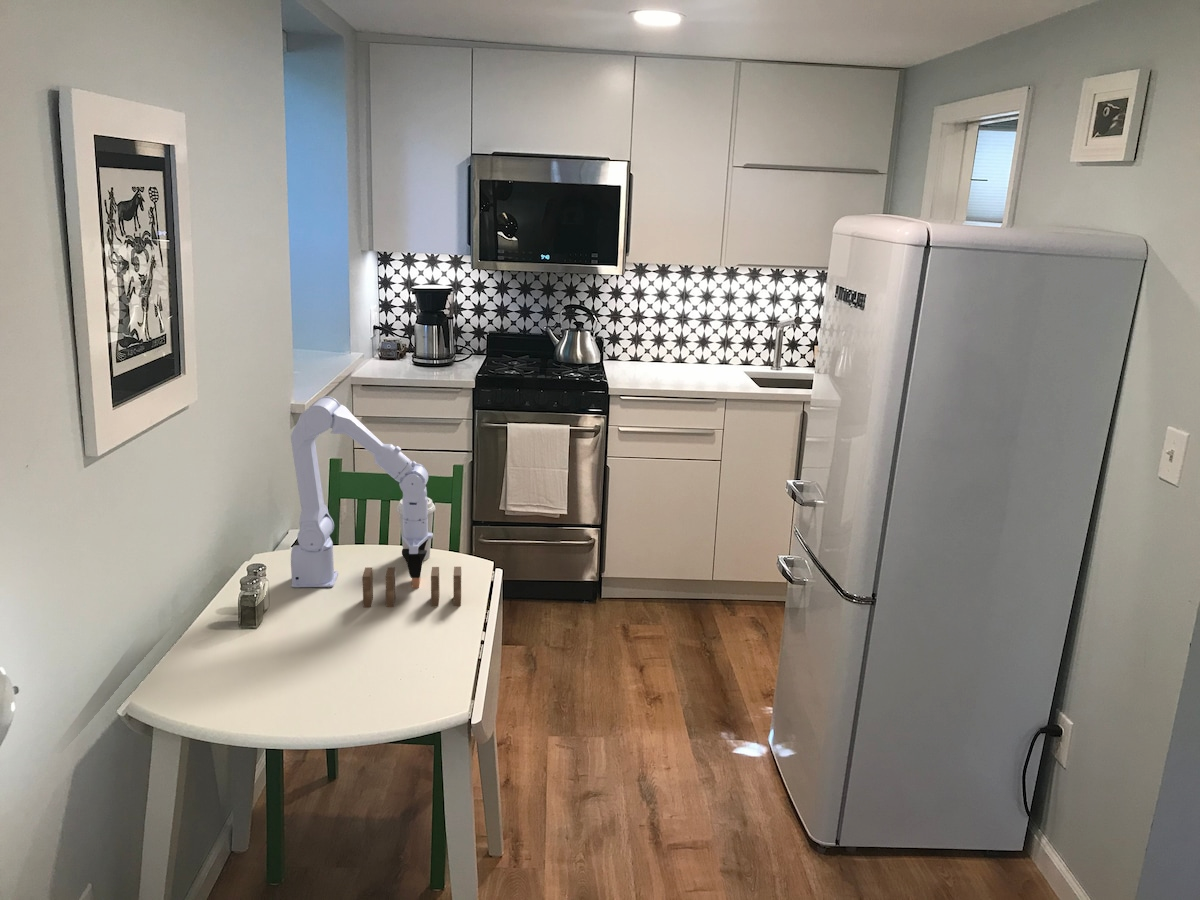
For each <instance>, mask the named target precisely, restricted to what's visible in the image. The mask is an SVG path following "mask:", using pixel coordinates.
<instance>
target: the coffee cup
mask: <svg viewBox="0 0 1200 900" xmlns="http://www.w3.org/2000/svg"><path fill="white" fill-rule="evenodd" d="M402 499H403V498H401V499H400V500H399V503H398V504H397V507H396V511H397V513H398V519H399V527H400V536H401V543H402V549H409V546H408V545H407V544H406V542H405V541H404V540H403V538H402V535H403V504H402ZM427 503H428V533H433V522H434V521H433V519H434V512H435V511H436V506H435V504H434V502H433V499H431V498H430V497H428V496H427ZM431 544H432V538H429V539H428V541H427V543H426V546H425V550H427V553H426V555H425V557H424V559H423V562H424V561H427V560H428V559H430V557H431V556H430V555H431V547H432V546H431Z"/></svg>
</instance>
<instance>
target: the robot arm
mask: <svg viewBox="0 0 1200 900" xmlns="http://www.w3.org/2000/svg"><path fill="white" fill-rule="evenodd" d="M329 429H331V430H330V434H338V435H339V434H340V435H341V434H344V435H347V436H348V437H349V438H350V439H352V440H353V441H355V442H356V443H357V444H359V445H360V446H361V447H362V448H364V449H365V450H366V451H368V452H369V453H370V454H372V455H373V458H374V463H375V465H377V466H378V467H380V469H382V470H383V471H384V472H385V473H387V475H389V476H390V477H391V478H392V479H394V480H395V481H396V482H398V483H399V484H398V485H399V488H400V490H401V492H402V498H401V499H402V504H403V535H402V536H401V539H402V538H403V540H404V541H405V542H406V544H407V545H408V546H409V549H403V548H402V549H401V555H402V557H403V558H405V559H404V561H405V562H406V566H407V569H408V572H409V576H410V578H411V579H412V578H420V579H421V573H422V566H423V562H424V561H423V559H424V557H425V555H426V553H427V550H425V546H426V543H427V541H428V539H429V538H431V539H433V538H434V533H433V532H432V533H428V503H427V497H428V491H427V486H426V485H427V484H428V481H429V473H428V470H427V469H426V468H425V466H424V465H423V464H420V463H417V462H416V461H415V460H411V459H410V458H408V456H406V455H405V454H404V453H403V452H402V448H401V447H400V446H399V445H396V446H395V445H393V443H383V442H382V441H381V440H380V439H379V438H378V437H377V436H376V435H375V434H374V433H372V431H370V430H369V429H368V427H366V426H365V425H364V424H363V423H362V422H361V421H360V420H359V419H358V418H356V417H355V415H353V413H352V412H351V411H350V410H349V408H348V407H346V406H345V405H344V404H340V402H339V401H338V400H337V399H336V398H334V397H332V396H328V395H327V396H321V397H320V398H318V399H317V400H316V401H314V402H313V403H312V404H311V405H310V406H309V407H307V409H306V410H304V411H303V412H302V413H301V414H300V415H299V418H298V420H297V422H296V424H295V426H294V428H293V429H292V431H291V434H290V442H291V443H290V444H291V449H292V455H293V456H292V457H293V462H294V463H293V464H294V469H295V470H294V471H295V475H296V476H295V477H296V482H297V483H296V484H297V489H298V495H299V502H300V509H301V511H300V515H299V522H298V524H299V531H298V533H297V539H296V540H297V542H298V545H293V546H292V547H291V553H290V569H291V573H290V574H291V588H333V587H334V585H335V582H336V580H337V577H338V574H339V572H338V571H335V566H334V548H333V547H334V543H333V540H332V538H331V534H332V533H333V532H334V530H335V523H334V520H333V518H332V516H331V515H330V514H329V509H328V506H327V505H326V504H325V502H324V501H325V500H324V494H323V486H322V480H321V479H322V478H321V473H320V467H319V459H318V452H317V451H318V450H317V447H316V438H318V437H319V435H321V434H324V433H325V432H327V431H328V430H329Z"/></svg>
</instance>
